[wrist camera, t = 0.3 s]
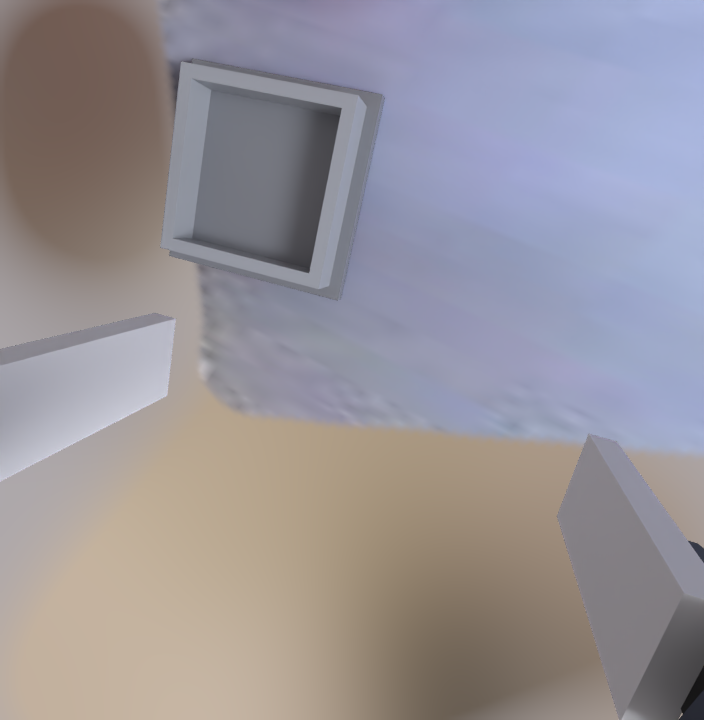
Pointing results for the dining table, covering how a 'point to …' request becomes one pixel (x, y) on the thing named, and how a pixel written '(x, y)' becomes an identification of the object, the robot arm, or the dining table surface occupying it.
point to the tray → (268, 175)
